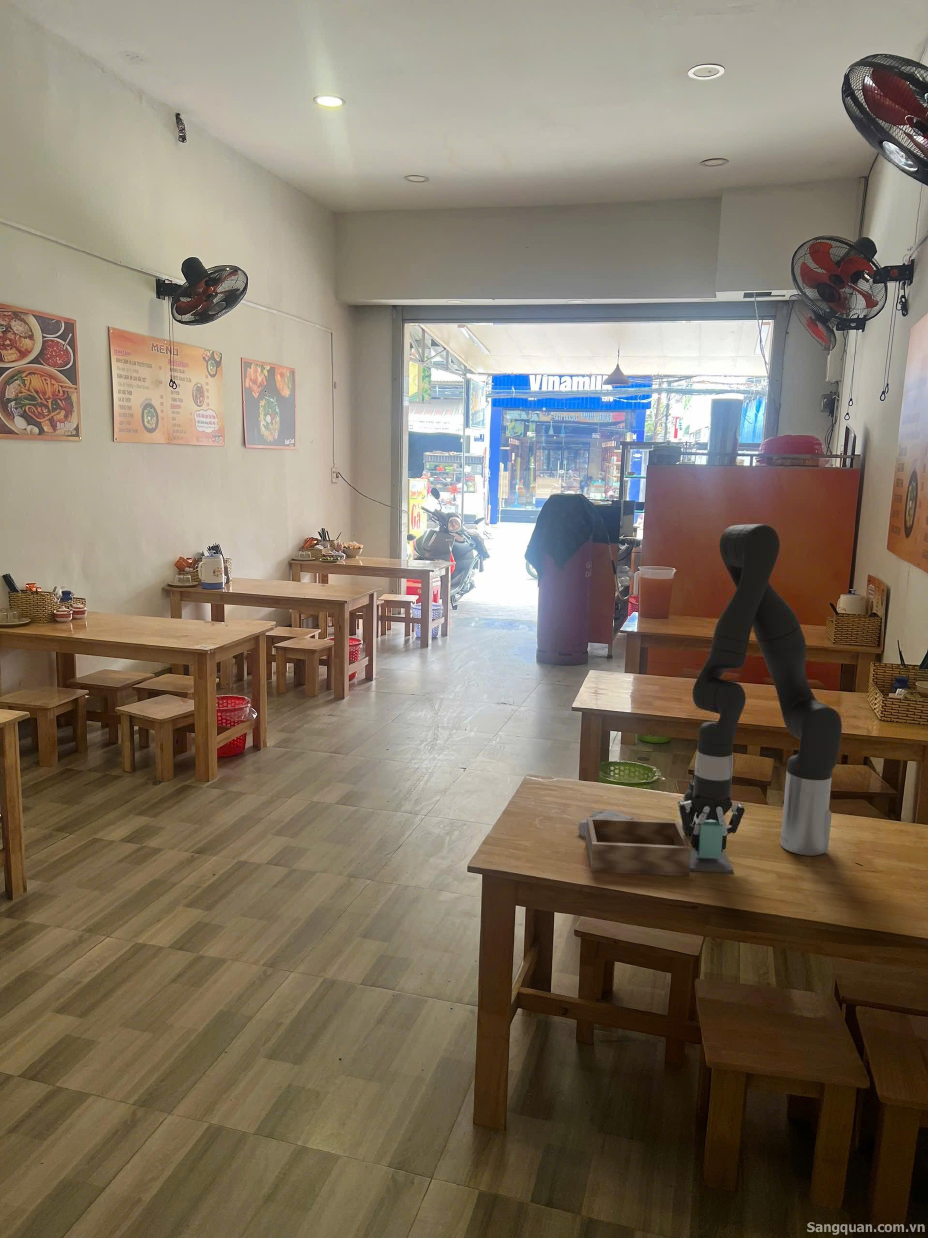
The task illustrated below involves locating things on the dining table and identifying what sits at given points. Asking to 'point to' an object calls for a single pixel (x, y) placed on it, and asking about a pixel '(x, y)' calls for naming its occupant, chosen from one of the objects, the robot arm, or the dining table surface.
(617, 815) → the stone block
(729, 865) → the mat
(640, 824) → the crate
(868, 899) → the dining table surface
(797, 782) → the robot arm
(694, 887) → the dining table surface
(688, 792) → the supplement bottle
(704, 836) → the block
